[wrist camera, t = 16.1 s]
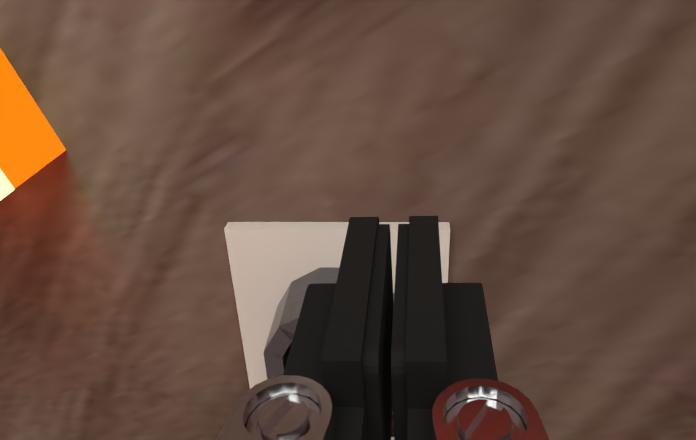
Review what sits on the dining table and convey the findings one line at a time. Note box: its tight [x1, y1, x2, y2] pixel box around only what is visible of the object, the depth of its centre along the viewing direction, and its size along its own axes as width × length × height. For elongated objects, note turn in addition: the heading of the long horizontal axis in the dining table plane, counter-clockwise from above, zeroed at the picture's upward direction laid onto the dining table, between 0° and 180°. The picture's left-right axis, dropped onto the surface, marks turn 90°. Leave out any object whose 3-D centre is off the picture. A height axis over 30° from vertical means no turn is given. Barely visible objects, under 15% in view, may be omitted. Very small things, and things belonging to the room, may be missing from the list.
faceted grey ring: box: [264, 267, 394, 379], centre depth 40 cm, size 9×9×5 cm
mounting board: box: [224, 222, 450, 389], centre depth 43 cm, size 15×15×1 cm
